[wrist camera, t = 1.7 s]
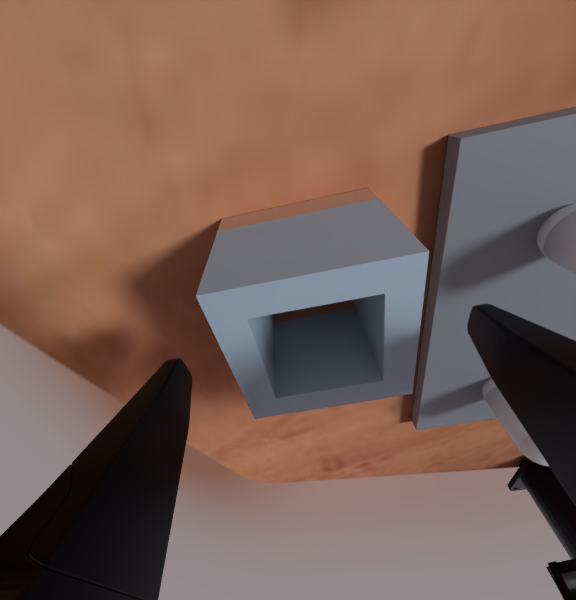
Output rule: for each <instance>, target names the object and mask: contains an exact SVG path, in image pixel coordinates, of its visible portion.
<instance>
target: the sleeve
mask: <svg viewBox="0 0 576 600" xmlns="http://www.w3.org/2000/svg"><path fill="white" fill-rule="evenodd" d="M428 258H429V250H428V249H427V248H426V247H425V246H424V245H423V244H422V243H421V242H420V241H419V240H418V239H417V238H416V237H415V236H414V235H413V234H412V233H411V231H410V230H409V229H408V228H407V227H406V226H405V225H404V224H403V223H402V222H401V221H400V220H399V219H398V218H397V217H396V216H395V215H394V214H393V213H392V212H391V211H390V210H389V208H388V207H387V206H386V205H385V204H384V203H383V202H382V201H381V200H380V199H379V198H378V197H377V196H376V195H375V194H374V193H373V192H372V191H371V190H370V189H369V188H366V189H361V190H356V191H351V192H347V193H342V194H337V195H332V196H327V197H323V198H318V199H313V200H308V201H304V202H299V203H294V204H289V205H285V206H280V207H275V208H270V209H266V210H261V211H256V212H251V213H247V214H242V215H237V216H232V217H228V218H223V219H222V220H221V223H220V226H219V228H218V231H217V234H216V237H215V240H214V243H213V246H212V249H211V252H210V255H209V258H208V261H207V264H206V267H205V270H204V273H203V276H202V279H201V282H200V285H199V288H198V291H197V293H196V298H197V300H198V302H199V304H200V306H201V308H202V310H203V312H204V314H205V316H206V319H207V321H208V323H209V325H210V327H211V329H212V331H213V333H214V335H215V337H216V339H217V341H218V343H219V346H220V348H221V350H222V352H223V354H224V356H225V358H226V360H227V362H228V364H229V366H230V368H231V370H232V373H233V375H234V377H235V379H236V381H237V383H238V385H239V387H240V389H241V391H242V393H243V395H244V397H245V399H246V402H247V404H248V406H249V408H250V410H251V412H252V414H253V416H254V418H255V419H256V418H262V417H269V416H275V415H281V414H287V413H294V412H300V411H306V410H313V409H319V408H325V407H332V406H338V405H344V404H350V403H357V402H363V401H369V400H376V399H382V398H388V397H394V396H401V395H407V394H412V392H413V384H414V376H415V367H416V359H417V350H418V342H419V334H420V325H421V317H422V308H423V300H424V291H425V283H426V275H427V266H428Z"/></svg>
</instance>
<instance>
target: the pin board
mask: <svg viewBox="0 0 576 600" xmlns="http://www.w3.org/2000/svg"><path fill="white" fill-rule="evenodd" d="M481 304H491V305H494V306H496V307H498V308H501V309H503V310H505V311H507V312H510V313H512V314H514V315H517V316H519V317H521V318H524V319H526V320H528V321H531V322H533V323H535V324H538V325H540V326H542V327H545V328H547V329H549V330H552V331H554V332H556V333H559V334H561V335H563V336H565V337H568V338H570V339H572V340H575V341H576V107H574V108H569V109H564V110H560V111H555V112H551V113H546V114H542V115H537V116H532V117H528V118H523V119H519V120H514V121H510V122H505V123H500V124H496V125H491V126H487V127H482V128H478V129H473V130H468V131H464V132H459V133H455V134H450V135H448V142H447V150H446V157H445V165H444V173H443V181H442V188H441V196H440V204H439V212H438V220H437V227H436V235H435V243H434V251H433V258H432V266H431V274H430V282H429V290H428V297H427V305H426V313H425V321H424V328H423V336H422V344H421V352H420V360H419V367H418V375H417V383H416V391H415V398H414V406H413V414H412V421H413V423H414V426H415V428H416V430H421V429H428V428H435V427H441V426H448V425H455V424H461V423H468V422H475V421H481V420H488V419H495V418H498V420H499V421H500V422H501V424H502V425H503V427H504V428H505V430H506V431H507V433H508V434H509V436H510V437H511V439H512V440H513V441H514V443H515V444H516V446H517V447H518V449H519V450H520V451H521V452H522V454H523V455H525V456H526V457H527V458H528V459H530V460H531V461H533V462H535V463H537V464H540V465H544V466H549V465H548V463H547V462H546V460H545V459H544V457H543V456H542V454H541V453H540V451H539V450H538V448H537V447H536V445H535V444H534V442H533V441H532V439H531V438H530V436H529V434H528V433H527V431H526V430H525V428H524V427H523V425H522V424H521V422H520V421H519V419H518V418H517V416H516V415H515V413H514V412H513V410H512V409H511V407H510V406H509V404H508V403H507V401H506V400H505V398H504V397H503V395H502V394H501V392H500V391H499V389H498V388H497V386H496V385H495V383H494V381H493V380H492V378H491V376H490V375H489V373H488V371H487V369H486V367H485V365H484V363H483V361H482V359H481V357H480V355H479V353H478V351H477V349H476V347H475V346H474V344H473V342H472V340H471V338H470V336H469V334H468V330H467V324H468V320H469V317H470V313H471V309H472V308H473V306H476V305H481Z"/></svg>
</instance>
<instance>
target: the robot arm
mask: <svg viewBox="0 0 576 600" xmlns="http://www.w3.org/2000/svg"><path fill="white" fill-rule="evenodd" d="M467 330H468V334H469V336H470V338H471V340H472V342H473V344H474V346H475V347H476V349H477V351H478V353H479V355H480V357H481V359H482V361H483V363H484V365H485V367H486V369H487V371H488V373H489V375H490V376H491V378H492V380H493V381H494V383H495V385H496V386H497V388H498V389H499V391H500V392H501V394H502V395H503V397H504V398H505V400H506V401H507V403H508V404H509V406H510V407H511V409H512V410H513V412H514V413H515V415H516V416H517V418H518V419H519V421H520V422H521V424H522V425H523V427H524V428H525V430H526V431H527V433H528V434H529V436H530V438H531V439H532V441H533V442H534V444H535V445H536V447H537V448H538V450H539V451H540V453H541V454H542V456H543V457H544V459H545V460H546V462H547V463H548V465H549V466H544V465H540V464H537V463H535V462H533V461H531V460H530V459H528V458H526V459H525V460H524V461H523V463H522V464H521V466H520V467H519V469H518V470H517V472H516V473H515V475H514V476H513V478H512V479H511V481H510V482H509V484H508V487H509V489H510V490H511V491H516V490H523V489H527V490H528V492H529V493H530V495H531V497H532V498H533V500H534V501H535V503H536V504H537V506H538V508H539V509H540V511H541V512H542V514H543V515H544V517H545V519H546V520H547V522H548V523H549V525H550V526H551V528H552V530H553V531H554V533H555V534H556V536H557V537H558V539H559V541H560V542H561V544H562V545H563V547H564V548H565V550H566V551H567V553H568V555H569V556H570V558H571V560H567V561H562V562H555V561H554V562H550V563H548V565H549V566H548V567H547V569H548V571H549V573H550V575H551V576H552V578H553V580H554V581H555V583H556V585H557V587H558V589H559V591H560V593H561V595H562V597H563V598H564V600H576V341H575V340H572V339H570V338H568V337H565V336H563V335H561V334H559V333H556V332H554V331H552V330H549V329H547V328H545V327H542V326H540V325H538V324H535V323H533V322H531V321H528V320H526V319H524V318H521V317H519V316H517V315H514V314H512V313H510V312H507V311H505V310H503V309H501V308H498V307H496V306H494V305H491V304H481V305H476V306H473V308H472V309H471V313H470V317H469V320H468V324H467ZM191 390H192V376H191V374H190V372H189V370H188V369H187V367H186V365H185V364H184V362H183V361H182V360H181V359H180V358H177V359H171V360H167V361H166V362H165V363H164V364H163V365H162V366H161V367H160V368H159V369H158V370H157V371H156V373H155V374H154V375H153V376H152V377H151V378H150V379H149V380H148V381H147V382H146V383H145V384H144V386H143V387H142V388H141V389H140V390H139V391H138V392H137V393H136V394H135V395H134V396H133V397H132V398H131V400H130V401H129V402H128V403H127V404H126V405H125V406H124V407H123V408H122V409H121V410H120V412H119V413H118V414H117V415H116V416H115V417H114V418H113V419H112V420H111V421H110V422H109V423H108V424H107V425H106V427H105V428H104V429H103V430H102V431H101V432H100V433H99V434H98V435H97V436H96V437H95V438H94V439H93V441H92V442H91V443H90V444H89V445H88V446H87V447H86V448H85V449H84V450H83V451H82V452H81V454H80V455H79V456H78V457H77V458H76V459H75V460H74V461H73V462H72V465H69V467H68V468H67V469H66V470H65V471H64V472H63V473H62V474H61V475H60V476H59V477H58V478H57V479H56V480H55V481H54V482H53V484H52V485H51V486H50V487H49V488H48V489H47V490H46V491H45V492H44V493H43V494H42V495H41V496H40V497H39V498H38V499H37V500H36V501H35V502H34V503H33V504H32V505H31V506H30V507H29V508H28V509H27V510H26V511H25V512H24V513H23V514H22V515H21V516H20V517H19V518H18V519H17V520H16V521H15V522H14V523H13V524H12V525H11V526H10V527H9V528H8V529H7V530H6V531H5V532H4V533H3V534H2V535H1V536H0V600H158V597H159V591H160V586H161V580H162V574H163V568H164V563H165V558H166V552H167V546H168V540H169V535H170V529H171V524H172V519H173V513H174V507H175V502H176V496H177V491H178V485H179V479H180V474H181V468H182V462H183V457H184V452H185V446H186V440H187V435H188V428H189V419H190V405H191Z"/></svg>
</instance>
